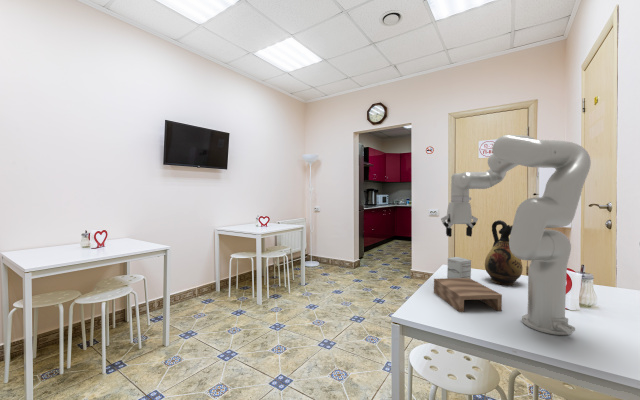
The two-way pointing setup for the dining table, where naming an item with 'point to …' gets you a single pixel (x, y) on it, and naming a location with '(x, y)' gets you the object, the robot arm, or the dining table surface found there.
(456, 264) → the supplement box
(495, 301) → the walnut shelf
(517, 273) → the ceramic jug
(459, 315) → the dining table surface
